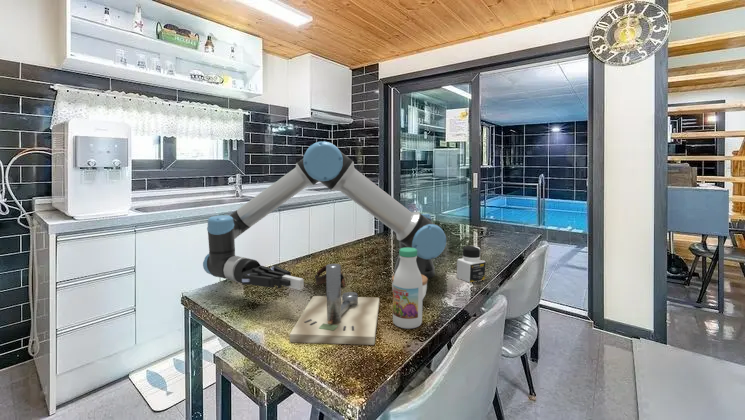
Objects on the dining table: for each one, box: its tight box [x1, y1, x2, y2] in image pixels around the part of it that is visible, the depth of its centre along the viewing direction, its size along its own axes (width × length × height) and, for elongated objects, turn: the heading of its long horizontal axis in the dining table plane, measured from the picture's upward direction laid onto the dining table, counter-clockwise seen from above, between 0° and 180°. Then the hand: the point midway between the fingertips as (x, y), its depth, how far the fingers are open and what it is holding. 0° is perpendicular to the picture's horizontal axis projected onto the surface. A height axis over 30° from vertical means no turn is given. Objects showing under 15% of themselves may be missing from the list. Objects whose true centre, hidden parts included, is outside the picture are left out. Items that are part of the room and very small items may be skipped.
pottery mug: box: [314, 265, 346, 288], centre depth 123 cm, size 12×10×8 cm
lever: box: [325, 263, 359, 324], centre depth 94 cm, size 16×4×14 cm, turn 162°
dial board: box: [289, 295, 380, 346], centre depth 95 cm, size 20×24×2 cm
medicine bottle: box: [456, 245, 486, 284], centre depth 128 cm, size 7×7×12 cm
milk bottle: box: [392, 247, 423, 330], centre depth 93 cm, size 8×8×20 cm
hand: (301, 284), depth 95 cm, fingers closed
